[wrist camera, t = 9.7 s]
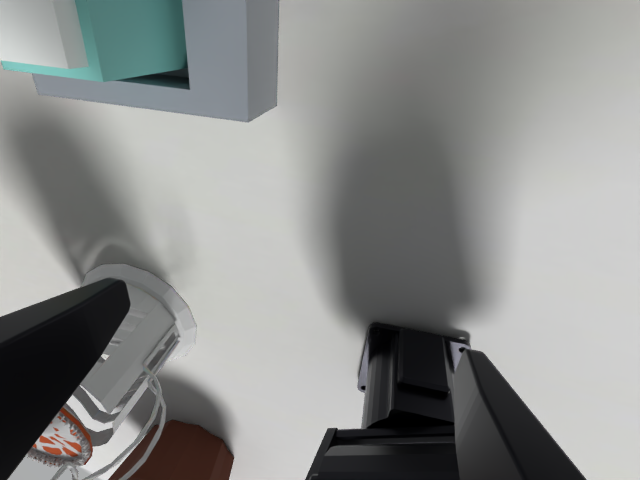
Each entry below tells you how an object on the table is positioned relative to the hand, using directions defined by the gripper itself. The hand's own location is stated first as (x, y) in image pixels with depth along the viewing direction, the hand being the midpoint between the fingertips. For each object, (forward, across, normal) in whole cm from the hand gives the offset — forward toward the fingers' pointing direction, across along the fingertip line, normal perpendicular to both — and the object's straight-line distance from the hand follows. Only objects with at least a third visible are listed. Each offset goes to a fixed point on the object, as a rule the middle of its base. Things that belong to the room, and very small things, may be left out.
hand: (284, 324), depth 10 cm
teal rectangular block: (+11, +9, -6) cm, 16 cm away
